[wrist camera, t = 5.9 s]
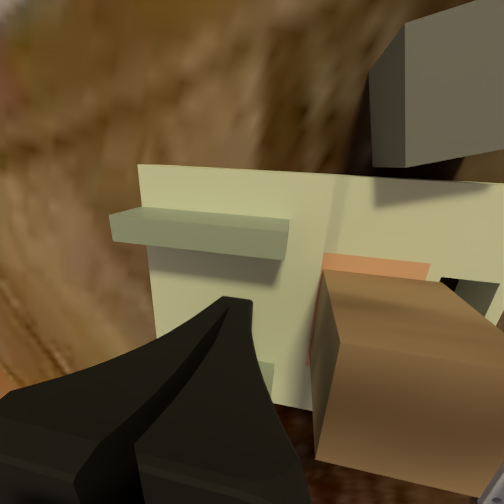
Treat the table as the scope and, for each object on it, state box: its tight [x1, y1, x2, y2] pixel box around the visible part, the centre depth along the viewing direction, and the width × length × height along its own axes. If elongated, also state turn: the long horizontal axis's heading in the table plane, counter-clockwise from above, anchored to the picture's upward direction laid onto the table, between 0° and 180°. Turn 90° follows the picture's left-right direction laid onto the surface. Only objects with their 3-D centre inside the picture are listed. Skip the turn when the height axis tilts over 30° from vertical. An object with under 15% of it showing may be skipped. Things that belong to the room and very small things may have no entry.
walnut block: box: [309, 269, 504, 498], centre depth 8 cm, size 4×4×4 cm
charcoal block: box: [368, 0, 504, 168], centre depth 8 cm, size 4×4×4 cm
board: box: [109, 164, 504, 411], centre depth 11 cm, size 12×15×4 cm
